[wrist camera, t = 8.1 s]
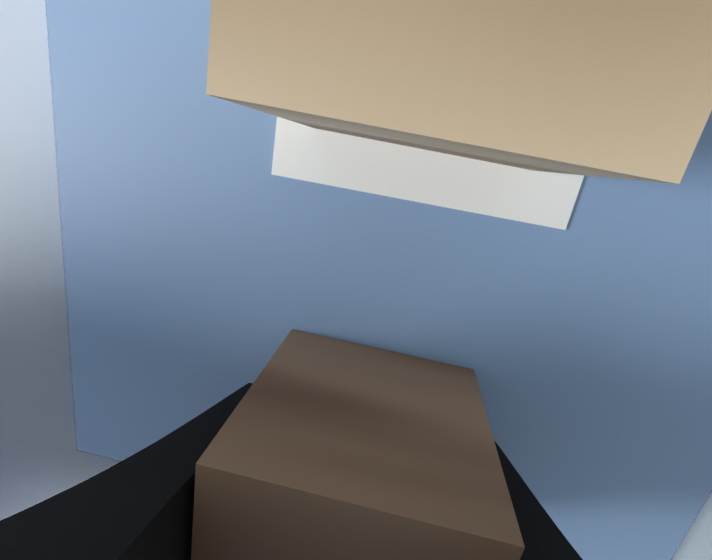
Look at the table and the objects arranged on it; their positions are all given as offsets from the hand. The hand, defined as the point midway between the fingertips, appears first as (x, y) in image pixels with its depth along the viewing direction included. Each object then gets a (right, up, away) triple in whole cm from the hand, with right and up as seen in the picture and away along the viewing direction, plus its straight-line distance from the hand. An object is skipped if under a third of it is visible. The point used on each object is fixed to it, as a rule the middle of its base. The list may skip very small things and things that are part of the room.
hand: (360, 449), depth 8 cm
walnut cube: (0, 0, +1) cm, 1 cm away
